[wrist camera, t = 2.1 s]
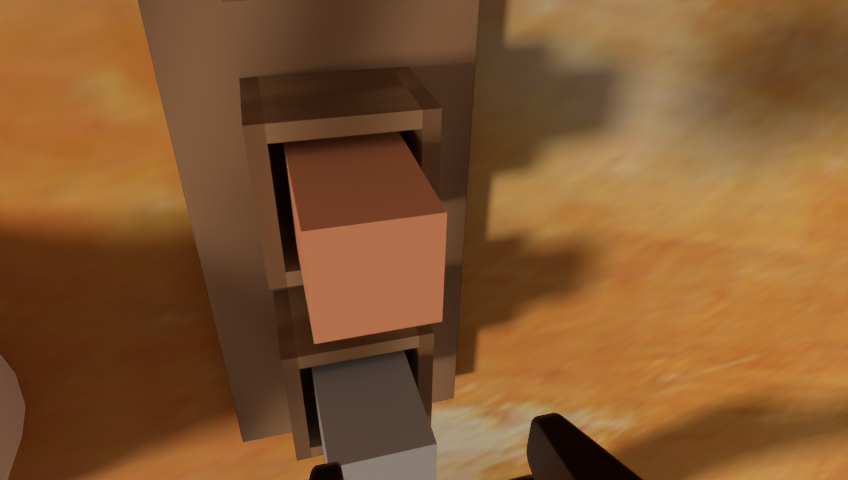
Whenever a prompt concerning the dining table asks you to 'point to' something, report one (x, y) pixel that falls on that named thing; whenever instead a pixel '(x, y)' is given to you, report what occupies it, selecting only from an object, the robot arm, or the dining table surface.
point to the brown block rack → (267, 177)
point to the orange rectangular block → (365, 235)
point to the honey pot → (9, 418)
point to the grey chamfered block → (374, 419)
